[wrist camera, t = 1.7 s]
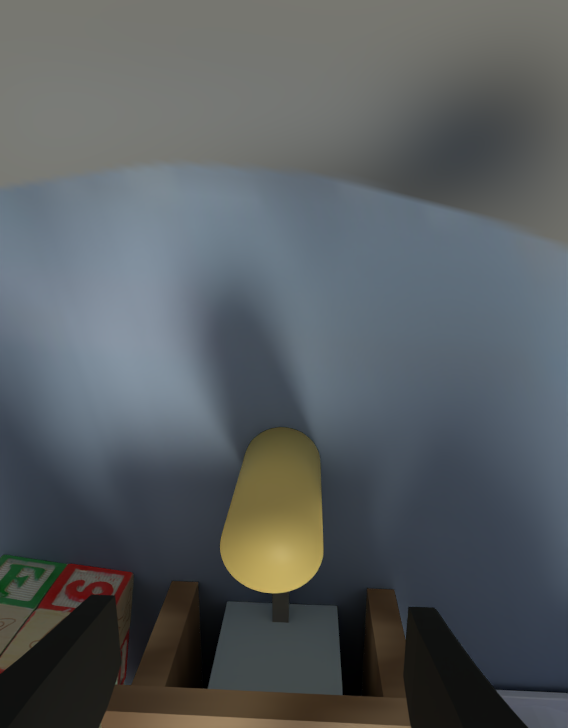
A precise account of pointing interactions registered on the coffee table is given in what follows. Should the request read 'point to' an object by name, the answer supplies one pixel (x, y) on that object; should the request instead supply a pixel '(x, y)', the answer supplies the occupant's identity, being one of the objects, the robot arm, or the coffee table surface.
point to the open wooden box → (256, 708)
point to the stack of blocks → (54, 602)
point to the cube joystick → (277, 574)
